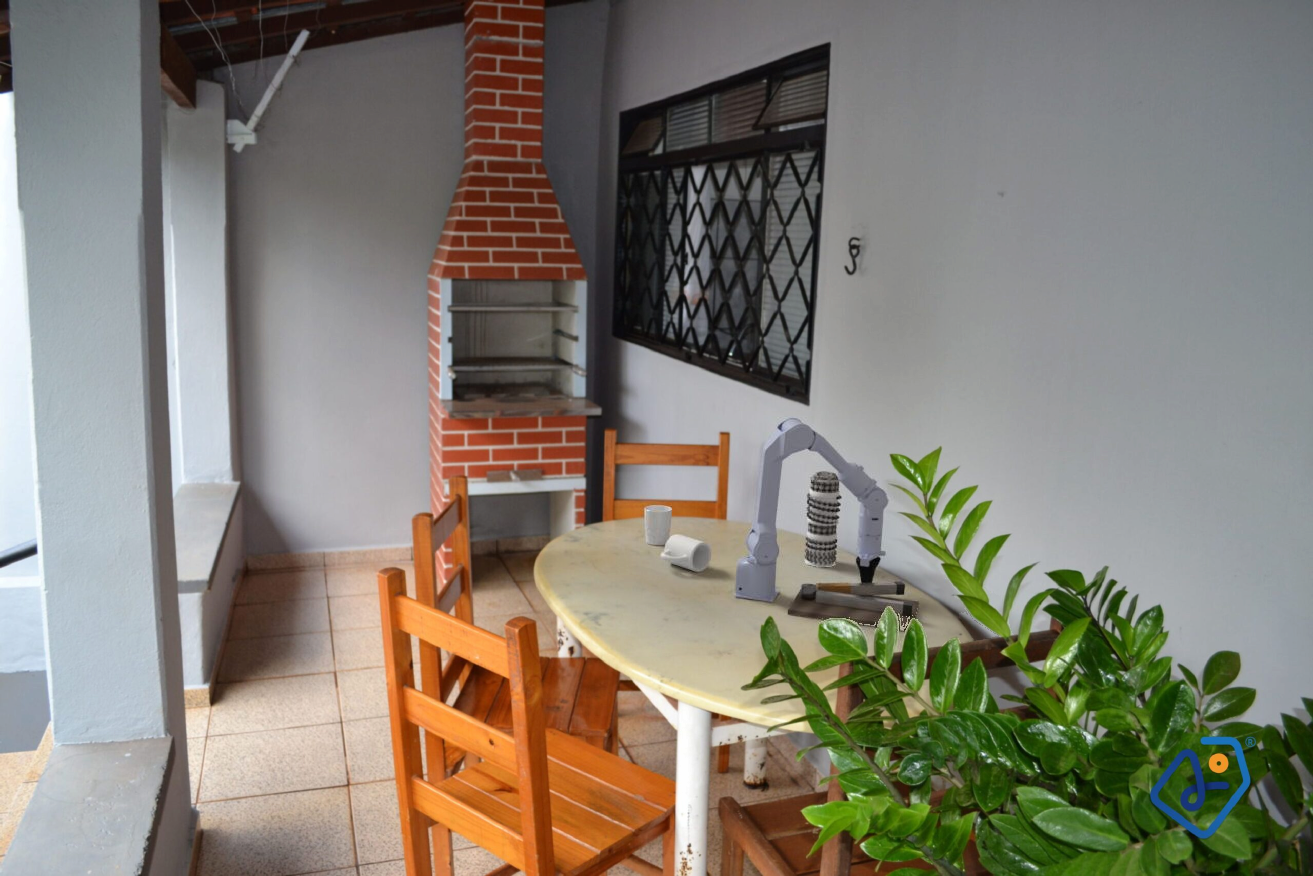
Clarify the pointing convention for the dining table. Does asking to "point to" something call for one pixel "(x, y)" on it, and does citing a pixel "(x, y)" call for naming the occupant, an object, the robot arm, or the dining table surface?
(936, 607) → the dining table surface
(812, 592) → the tong arm
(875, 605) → the grey long bar
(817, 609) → the walnut board
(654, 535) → the white cup
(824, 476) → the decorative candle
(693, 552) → the mug
